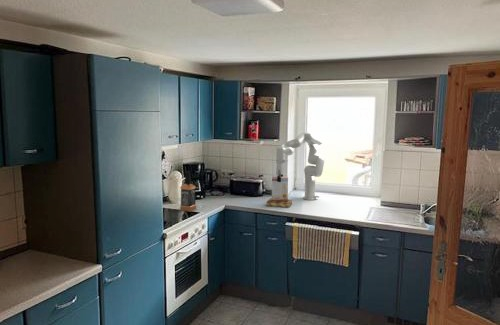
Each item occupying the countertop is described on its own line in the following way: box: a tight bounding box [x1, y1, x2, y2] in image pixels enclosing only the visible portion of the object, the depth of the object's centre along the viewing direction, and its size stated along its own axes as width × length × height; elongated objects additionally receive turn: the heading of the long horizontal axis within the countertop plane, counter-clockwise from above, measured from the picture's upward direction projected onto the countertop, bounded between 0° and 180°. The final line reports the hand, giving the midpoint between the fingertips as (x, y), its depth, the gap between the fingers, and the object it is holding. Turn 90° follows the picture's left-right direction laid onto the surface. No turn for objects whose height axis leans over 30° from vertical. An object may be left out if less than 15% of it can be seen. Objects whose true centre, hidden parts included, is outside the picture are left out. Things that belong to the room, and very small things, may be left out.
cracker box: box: [271, 176, 289, 201], centre depth 324 cm, size 14×6×21 cm, turn 83°
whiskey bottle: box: [179, 170, 197, 213], centre depth 303 cm, size 10×10×32 cm
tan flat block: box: [266, 197, 293, 209], centre depth 325 cm, size 20×14×4 cm
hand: (280, 181), depth 323 cm, fingers open, 9 cm apart
